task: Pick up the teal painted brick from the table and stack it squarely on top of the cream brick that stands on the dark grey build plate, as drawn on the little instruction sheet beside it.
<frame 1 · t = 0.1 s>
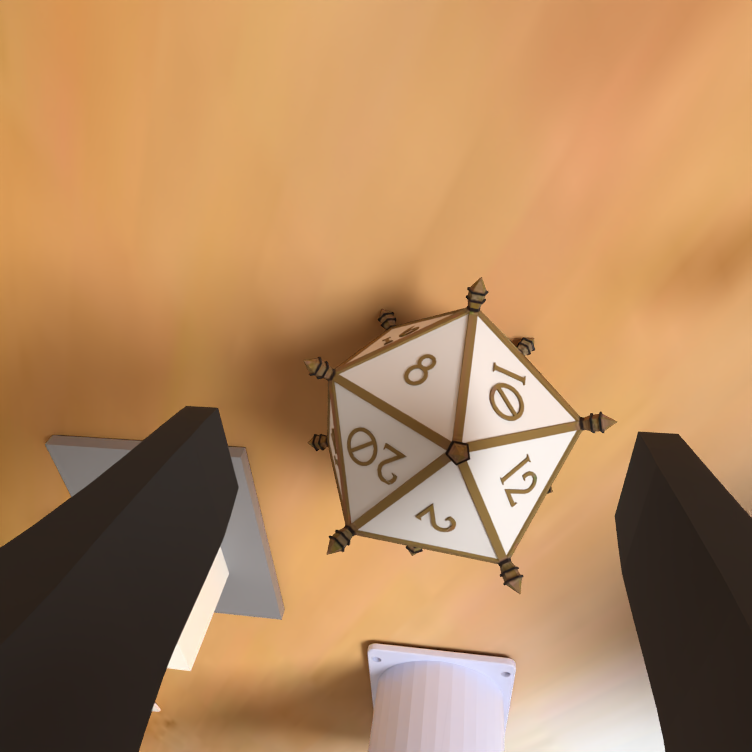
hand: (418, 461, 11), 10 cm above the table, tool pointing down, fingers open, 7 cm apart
cream brick: (174, 540, 29), point 1 cm above the table, touching build plate
build plate: (179, 530, 30), on the table
game die: (448, 355, 22), on the table
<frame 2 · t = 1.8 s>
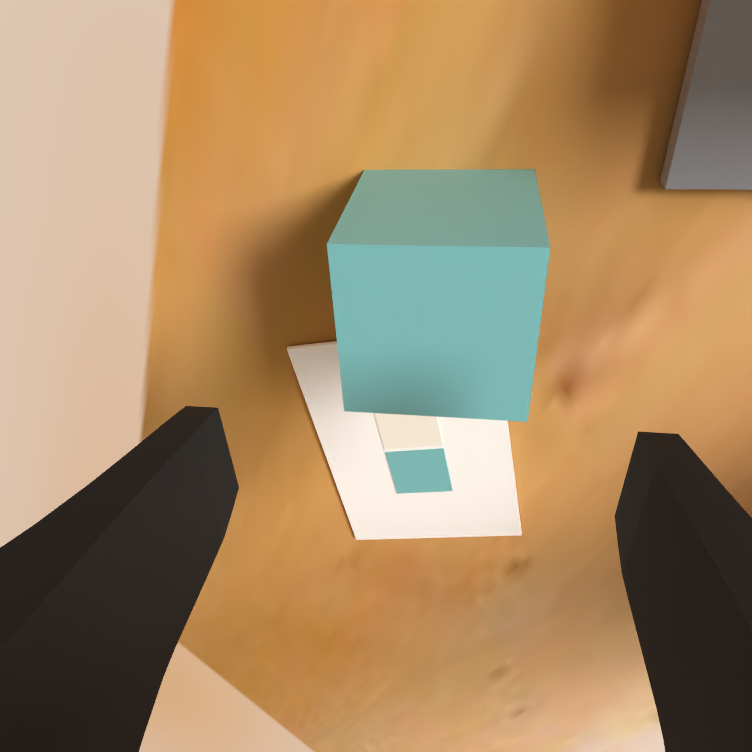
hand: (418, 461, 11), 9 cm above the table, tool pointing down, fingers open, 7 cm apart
instruction sheet: (414, 447, 23), on the table
teal brick: (446, 247, 18), on the table
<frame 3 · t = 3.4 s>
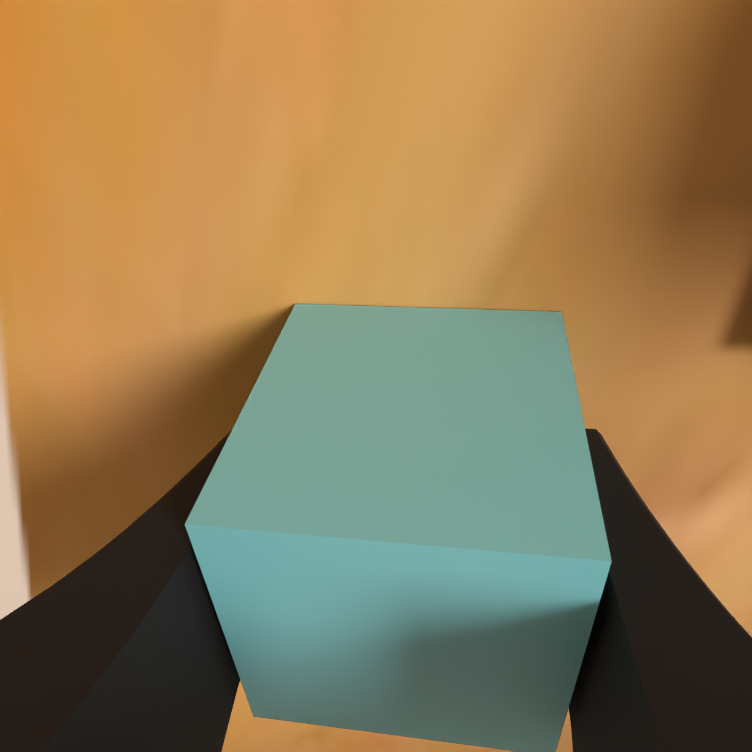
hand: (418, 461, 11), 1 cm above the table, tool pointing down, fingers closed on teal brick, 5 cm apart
teal brick: (424, 410, 12), on the table, touching gripper
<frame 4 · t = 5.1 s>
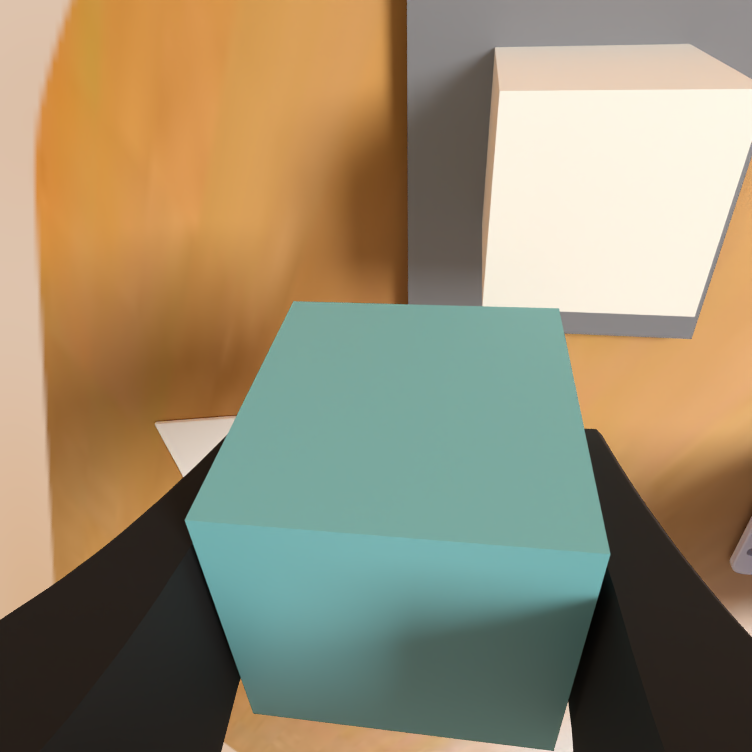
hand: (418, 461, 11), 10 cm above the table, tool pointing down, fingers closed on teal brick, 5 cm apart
instruction sheet: (268, 499, 28), on the table
teal brick: (422, 407, 12), point 9 cm above the table, touching gripper
cream brick: (575, 142, 16), point 1 cm above the table, touching build plate
build plate: (572, 136, 17), on the table
when the fingers open (8 cm above the table, at t = 6.8 s): teal brick stays where it is, resting on cream brick.
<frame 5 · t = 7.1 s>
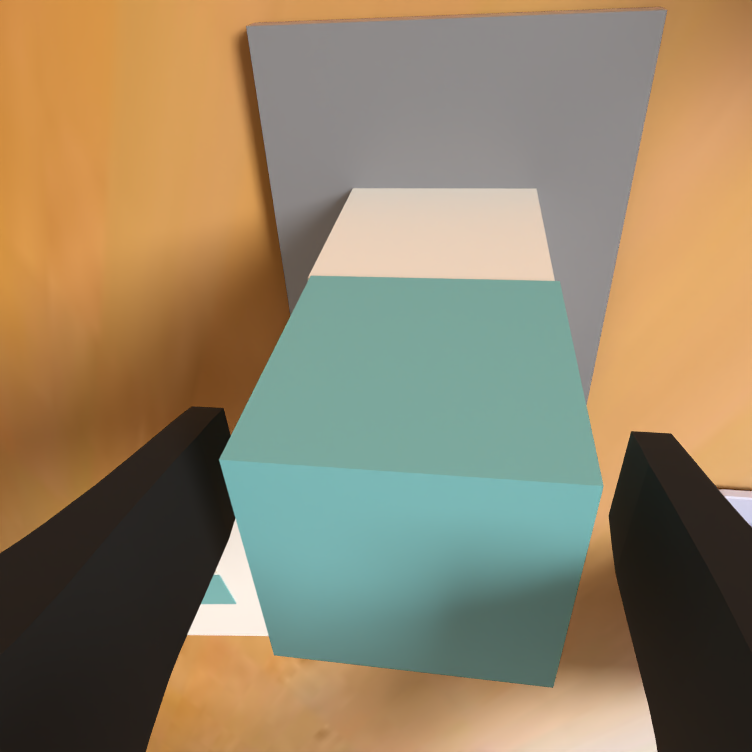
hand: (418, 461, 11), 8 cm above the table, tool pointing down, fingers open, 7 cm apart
instruction sheet: (199, 572, 28), on the table
teal brick: (430, 377, 13), point 6 cm above the table, touching cream brick
cream brick: (441, 271, 17), point 1 cm above the table, touching build plate, teal brick
build plate: (442, 261, 17), on the table
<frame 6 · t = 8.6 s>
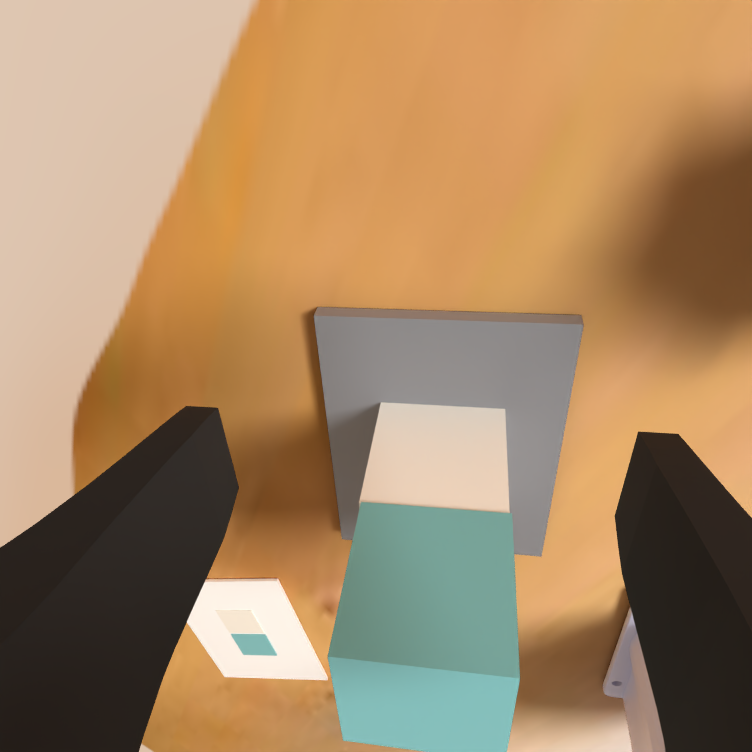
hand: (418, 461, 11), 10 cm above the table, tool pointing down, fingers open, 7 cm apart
instruction sheet: (249, 631, 35), on the table
teal brick: (434, 554, 20), point 6 cm above the table, touching cream brick
cream brick: (441, 450, 24), point 1 cm above the table, touching build plate, teal brick
build plate: (442, 440, 24), on the table
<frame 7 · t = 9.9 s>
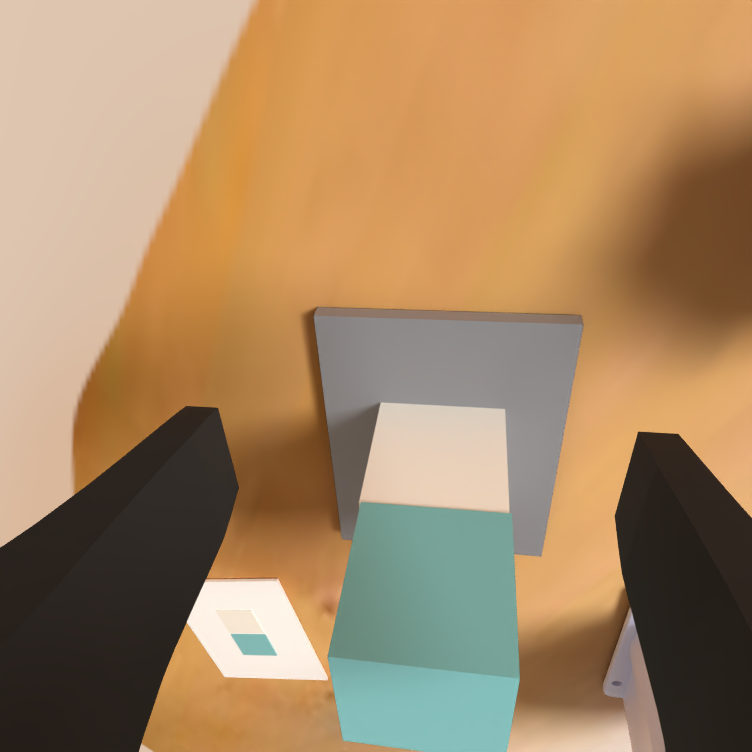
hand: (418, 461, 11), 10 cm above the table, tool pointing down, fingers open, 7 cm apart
instruction sheet: (249, 631, 35), on the table
teal brick: (434, 554, 20), point 6 cm above the table, touching cream brick
cream brick: (441, 450, 24), point 1 cm above the table, touching build plate, teal brick
build plate: (442, 440, 24), on the table
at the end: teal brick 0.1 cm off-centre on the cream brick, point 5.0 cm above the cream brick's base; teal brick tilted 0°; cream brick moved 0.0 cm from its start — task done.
